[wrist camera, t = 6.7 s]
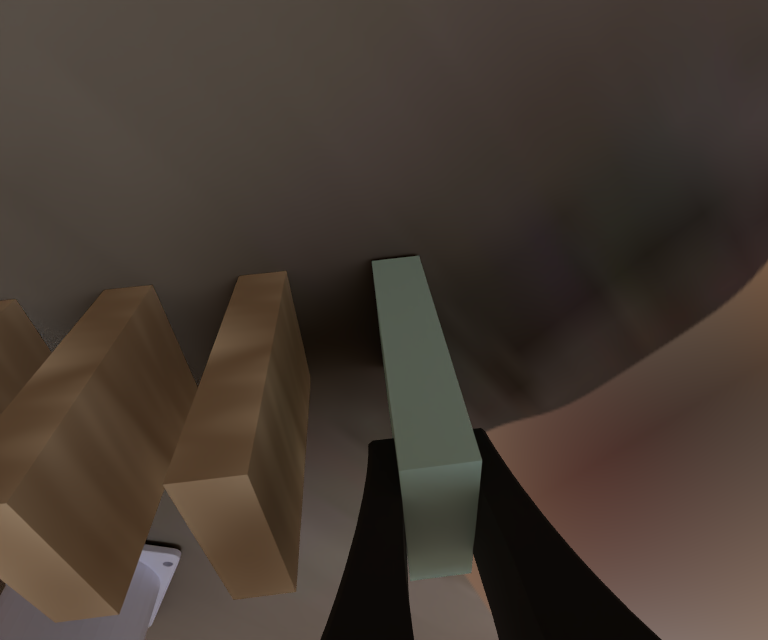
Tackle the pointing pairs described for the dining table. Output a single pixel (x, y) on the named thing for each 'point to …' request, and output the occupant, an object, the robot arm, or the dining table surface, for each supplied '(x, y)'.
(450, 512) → the teal domino
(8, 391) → the domino
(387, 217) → the dining table surface
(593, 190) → the dining table surface
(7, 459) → the domino
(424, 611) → the dining table surface
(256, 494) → the domino
